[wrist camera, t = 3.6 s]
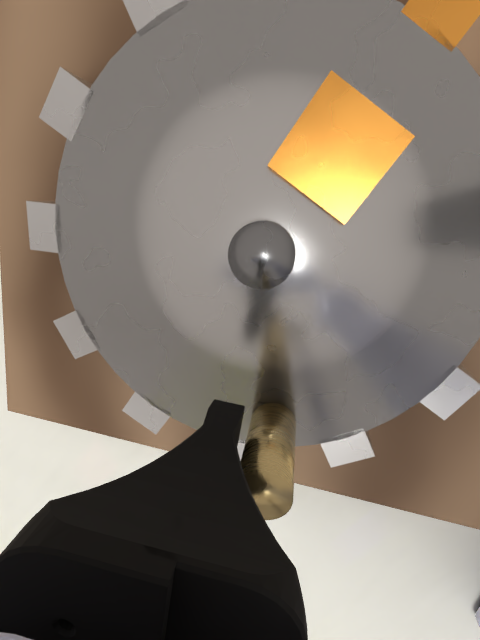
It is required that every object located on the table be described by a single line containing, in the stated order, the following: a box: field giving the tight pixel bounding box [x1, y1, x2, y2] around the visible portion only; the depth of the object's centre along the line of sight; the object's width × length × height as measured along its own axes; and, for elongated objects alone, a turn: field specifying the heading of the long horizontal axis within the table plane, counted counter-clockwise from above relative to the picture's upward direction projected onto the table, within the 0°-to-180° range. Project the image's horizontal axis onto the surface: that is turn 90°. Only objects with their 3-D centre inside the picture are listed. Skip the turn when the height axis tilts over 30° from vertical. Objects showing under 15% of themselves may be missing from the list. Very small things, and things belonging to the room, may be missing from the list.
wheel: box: [26, 0, 480, 520], centre depth 11 cm, size 16×16×6 cm
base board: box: [0, 0, 480, 529], centre depth 14 cm, size 22×20×1 cm
